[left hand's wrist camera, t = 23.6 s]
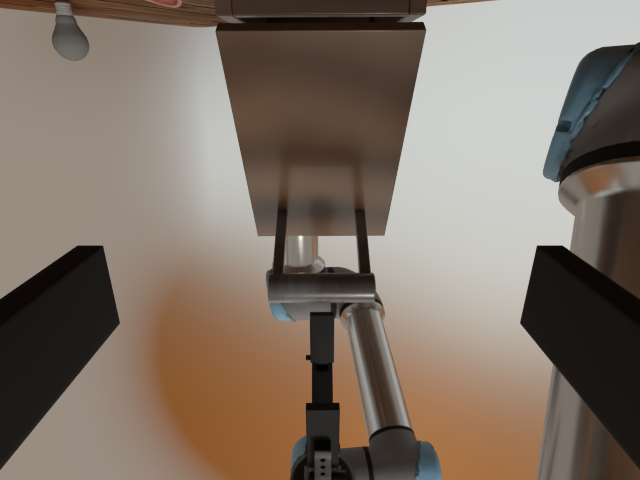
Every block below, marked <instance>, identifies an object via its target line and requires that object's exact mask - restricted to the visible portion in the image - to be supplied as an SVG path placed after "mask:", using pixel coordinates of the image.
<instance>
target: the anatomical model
mask: <svg viewBox="0 0 640 480" xmlns="http://www.w3.org/2000/svg"><path fill="white" fill-rule="evenodd" d="M146 1H150V2H153V3H156V4H160V5H163V6H168V7H179V6H180V5H181V4H182V0H146Z"/></svg>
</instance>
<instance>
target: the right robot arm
mask: <svg viewBox="0 0 640 480" xmlns="http://www.w3.org/2000/svg"><path fill="white" fill-rule="evenodd" d="M270 273H273V264H272V269H270V270H268V271H267V273H266V283H267V290H268V278H269V274H270ZM284 273H355V272H353V271H351V270H349V269H346V268H342V267H325V262H324V260H323V259H322V258H321V257H319V256H318V236H286V249H285V266H284ZM269 303H270V302H269ZM270 308H271V311H272V314H273V316H274V317H275V319H277V320H279V321H292V322H294V321H296V320H310V351H311V355H306V360H311V363H312V403H306V432H307V435H306V436H304V437H302V438H301V439H300V440H298V441H297V443H296V444H295V445H294V447H293V450H292V455H291V477H290V480H442V474H441V467H440V462H439V459H438V456H437V453H436V451H435V450H434V447H433V446H432V444H431V443H429V442H426V441H425V442H422V441H417V440H416V438H415V435H414V431H413V428H412V424H411V421H410V417H409V414H408V410H407V407H406V403H405V400H404V396H403V392H402V389H401V385H400V382H399V378H398V375H397V371H396V368H395V364H394V361H393V357H392V353H391V350H390V346H389V343H388V339H387V336H386V332H385V329H384V325H383V322H382V321H383V320H384V317H385V311H384V308H383V305H382V302H381V300H380V298H379V296H378V294H377V293H376V294H375V301H374V302H373V303H270ZM334 318H340V320H341V323H342V325H343V327H345V328H346V329H347V331H348V336H349V341H350V347H351V352H352V357H353V362H354V368H355V373H356V378H357V383H358V389H359V394H360V399H361V404H362V410H363V415H364V420H365V425H366V431H367V436H368V441H369V445H370V446H368V447H367V446H365V447H354V448H342V449H340V444H339V417H340V408H339V403H333V384H332V363H333V362H334Z"/></svg>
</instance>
